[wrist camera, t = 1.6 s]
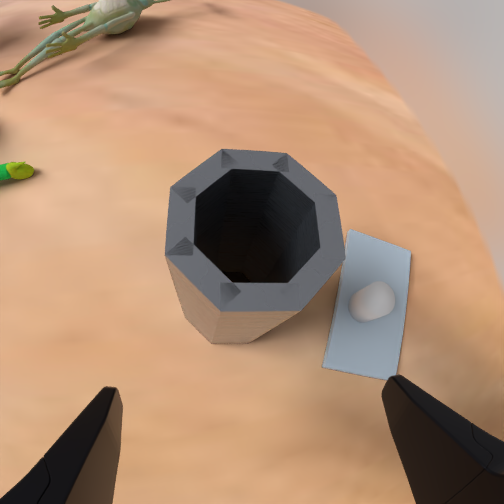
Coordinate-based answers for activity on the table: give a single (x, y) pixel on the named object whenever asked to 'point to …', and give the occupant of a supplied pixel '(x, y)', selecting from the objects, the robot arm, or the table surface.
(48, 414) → the table surface
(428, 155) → the table surface
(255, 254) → the sleeve
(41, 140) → the table surface
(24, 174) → the toy
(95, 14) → the toy
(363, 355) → the pedestal
